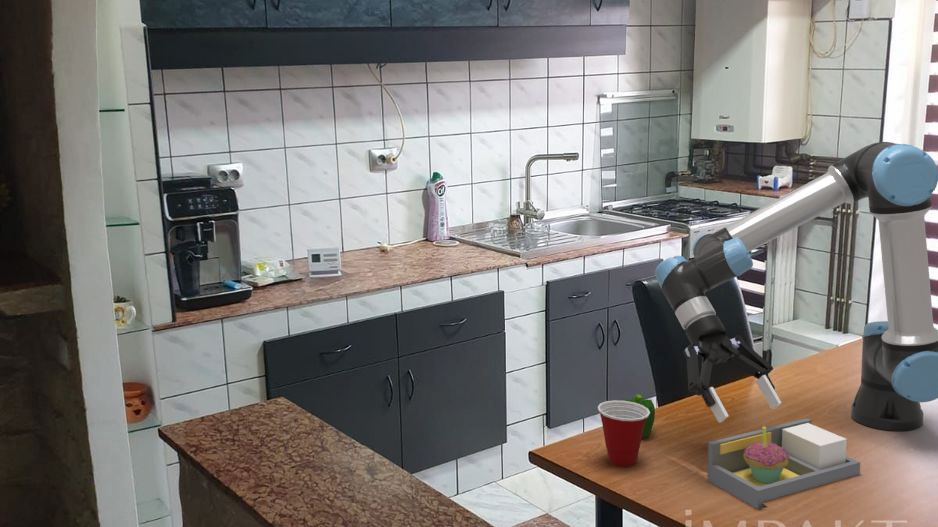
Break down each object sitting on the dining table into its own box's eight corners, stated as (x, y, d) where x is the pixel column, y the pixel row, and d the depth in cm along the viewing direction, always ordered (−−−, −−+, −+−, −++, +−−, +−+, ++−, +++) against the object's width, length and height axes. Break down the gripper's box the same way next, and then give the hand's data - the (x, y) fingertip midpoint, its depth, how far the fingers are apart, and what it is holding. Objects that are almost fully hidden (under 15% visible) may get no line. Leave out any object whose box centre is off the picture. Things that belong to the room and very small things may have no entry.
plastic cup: (649, 473, 181) (650, 418, 179) (596, 470, 184) (596, 416, 181) (650, 452, 192) (650, 399, 190) (599, 450, 194) (599, 397, 192)
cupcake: (782, 491, 168) (784, 431, 166) (737, 482, 173) (738, 424, 171) (792, 474, 176) (794, 416, 173) (749, 466, 180) (750, 409, 178)
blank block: (806, 454, 185) (808, 422, 184) (845, 472, 176) (846, 439, 175) (781, 461, 182) (782, 429, 181) (818, 479, 173) (820, 446, 172)
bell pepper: (618, 427, 207) (618, 386, 205) (654, 428, 205) (655, 387, 203) (617, 440, 199) (617, 398, 197) (654, 442, 197) (654, 399, 195)
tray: (805, 454, 188) (807, 418, 186) (859, 479, 175) (861, 440, 174) (707, 481, 177) (708, 442, 176) (757, 509, 165) (758, 468, 163)
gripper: (737, 323, 194) (787, 409, 183) (644, 341, 183) (691, 433, 173) (755, 304, 188) (808, 392, 178) (660, 322, 178) (710, 416, 167)
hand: (750, 413), depth 175 cm, fingers open, 13 cm apart
